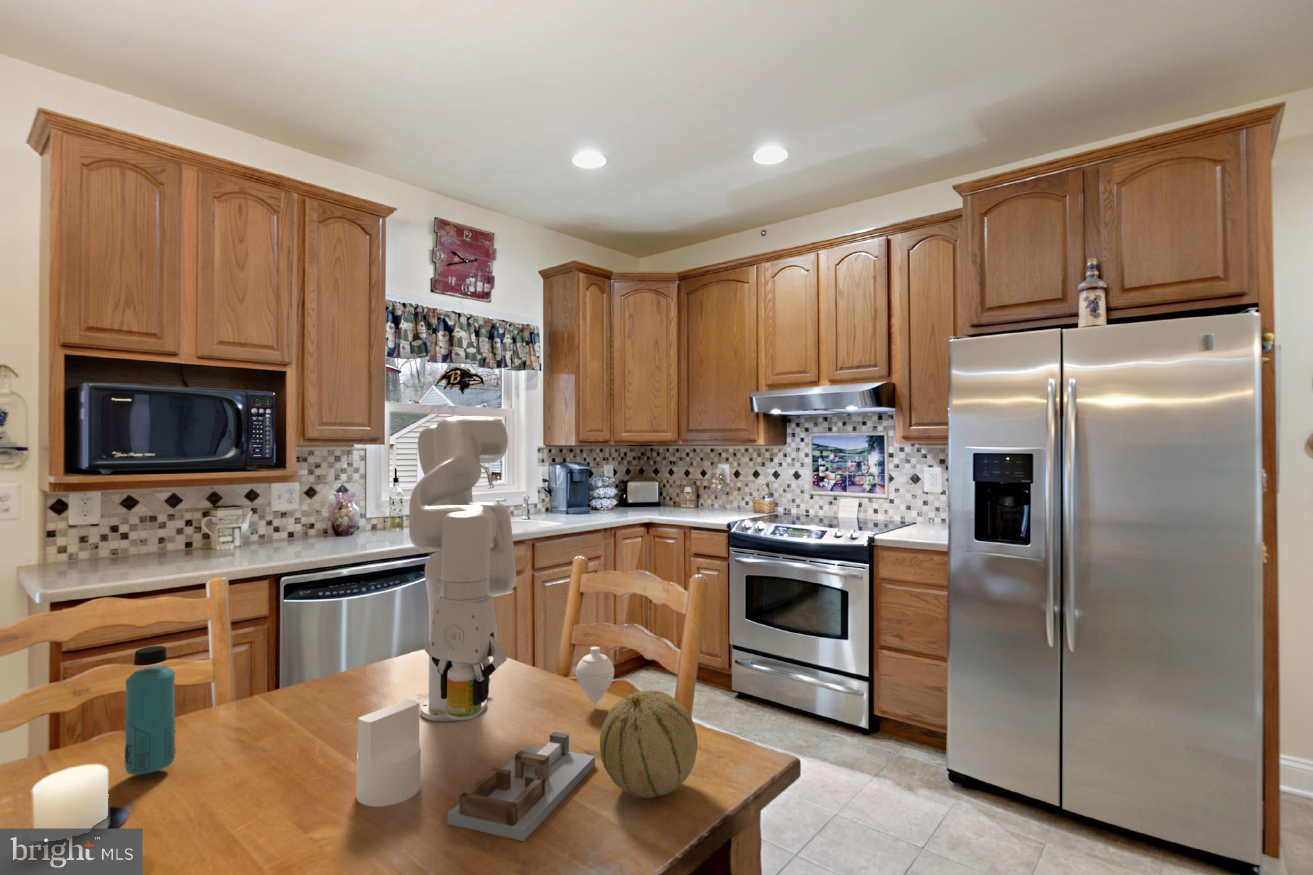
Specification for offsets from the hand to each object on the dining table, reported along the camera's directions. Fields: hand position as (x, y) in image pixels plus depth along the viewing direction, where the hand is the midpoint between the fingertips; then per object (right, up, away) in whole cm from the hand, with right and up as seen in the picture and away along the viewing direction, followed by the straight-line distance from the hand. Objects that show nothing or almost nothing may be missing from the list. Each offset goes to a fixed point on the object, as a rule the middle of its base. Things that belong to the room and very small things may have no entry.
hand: (464, 697), depth 106 cm
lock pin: (+14, -9, -3) cm, 17 cm away
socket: (+10, -9, -14) cm, 20 cm away
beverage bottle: (-49, -11, -3) cm, 50 cm away
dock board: (+12, -11, -8) cm, 18 cm away
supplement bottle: (0, -3, 0) cm, 3 cm away
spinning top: (+19, -12, +24) cm, 33 cm away
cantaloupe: (+30, -11, -8) cm, 33 cm away
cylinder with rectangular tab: (-9, -11, -8) cm, 16 cm away
